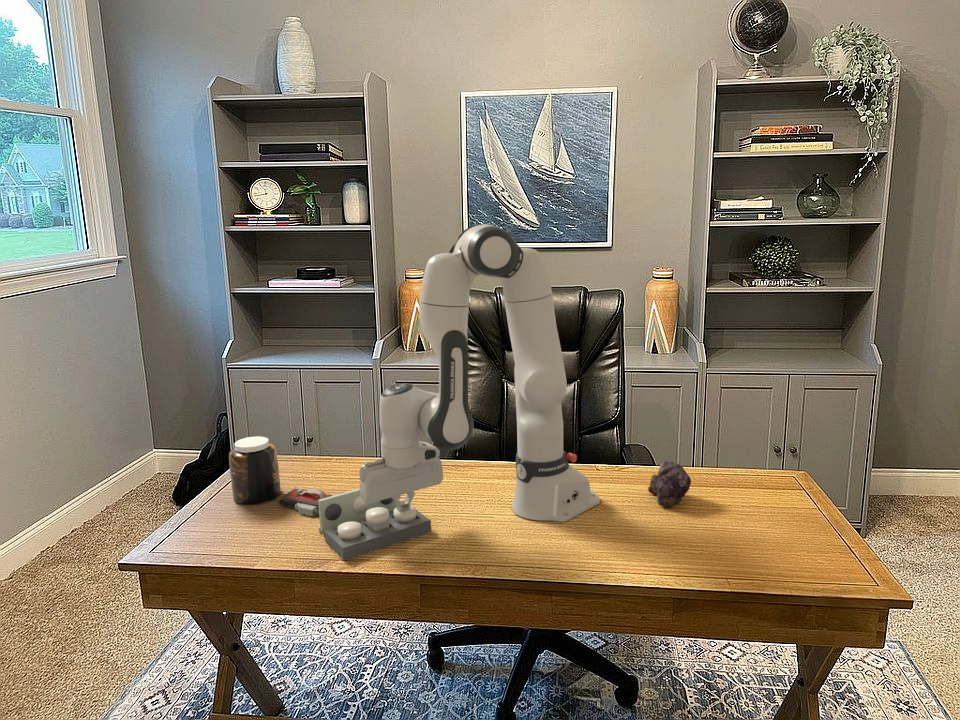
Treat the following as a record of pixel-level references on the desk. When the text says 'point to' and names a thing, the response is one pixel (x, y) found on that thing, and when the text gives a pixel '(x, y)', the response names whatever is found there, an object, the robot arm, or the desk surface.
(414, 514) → the button
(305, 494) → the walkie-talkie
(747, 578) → the desk surface
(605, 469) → the desk surface
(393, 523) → the button board
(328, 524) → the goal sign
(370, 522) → the button middle
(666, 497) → the rock
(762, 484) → the desk surface
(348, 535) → the button
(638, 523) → the desk surface
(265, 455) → the jar
